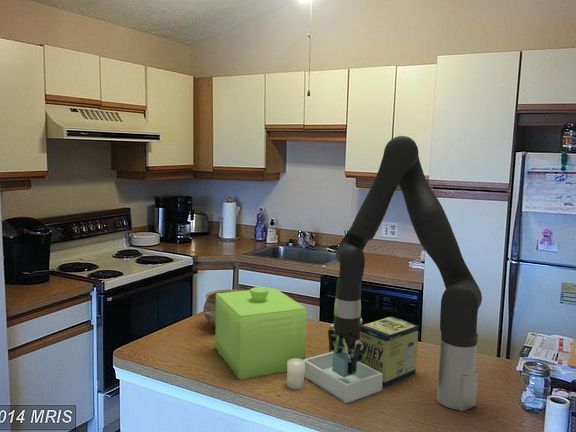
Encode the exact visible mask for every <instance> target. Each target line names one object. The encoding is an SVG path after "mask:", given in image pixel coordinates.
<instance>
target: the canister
mask: <svg viewBox="0 0 576 432" xmlns="http://www.w3.org/2000/svg"><path fill="white" fill-rule="evenodd" d="M307 311H308V310H307V309H306V307H305V306H303V305H301V304H300V303H299V302H297V301H296V300H294V299H293V298H291V297H290V296H288V295H287V294H285V293H284V292H282V291H280V290H279V289H278V288H275V287H268V288H266V287H264V286H263V287H262V286H256V287H252V288H250V289H248V290H242V291H235V292H225V293H216V326H215V335H214V337H215V338H214V339H215V341H214V342H215V345H214V347H215V348H216V349H217V350H218V351H219V352H218V351H217V350H216V349H215V350H216V351H217V352H218V354H219V353H220V354H221V355H220V354H219V355H220V356H221V358H222V357H223V358H224V359H223V358H222V359H223V360H224V362H225V361H226V362H227V363H228V364H227V363H226V362H225V363H226V364H227V366H228V367H229V366H230V367H229V369H231V371H232V370H233V371H232V372H233V374H234V375H235V376H236V377H237V379H238V380H245V379H250V378H251V379H252V378H256V377H257V378H258V377H262V376H264V377H265V376H269V375H274V374H279V373H285V372H287V361H288V360H289V359H293V358H298V359H302V360H304V359H306V339H307V337H306V336H307V335H306V334H307Z"/></svg>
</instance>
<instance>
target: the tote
mask: <svg viewBox="0 0 576 432" xmlns="http://www.w3.org/2000/svg"><path fill="white" fill-rule="evenodd" d="M333 354H334V352H329V351H328V352H327V353H322V354H319V355H315V356H312V357H307V358H305V359H304V361H305V377H304V379H306V380H308V381H310V382H311V383H312V384H314V385H316V386H318V387H319V388H321V389H322V390H324V391H326V392H327V393H329V394H330V395H332V396H333V397H335V398H336V399H338V400H340V401H341V402H343V403H344V404H349V403H351V402H355V401H357V400H359V399H362V398H365V397H368V396H371V395H373V394H376V393H379V392H382V391H383V386H382V381H383V374H382V373H380V372H378V371H376V370H375V369H373V368H371V367H369V366H367V365H365V364H363V363H361V362H357V373H356V374H353V375H350V376H347V377H342V376H340V375H339V374H337V373H335V372H334V371H332V365H333Z"/></svg>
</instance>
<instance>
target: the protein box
mask: <svg viewBox="0 0 576 432" xmlns="http://www.w3.org/2000/svg"><path fill="white" fill-rule="evenodd" d="M418 339H419V325H418V324H415V323H412V322H409V321H406V320H403V319H400V318H397V317H395V316H391V315H390V316H388V317H385V318H382V319H378V320H375V321H372V322H368V323H365V324H363V325H361V326H360V342H361V343H362V342H365V344H366V346H365V350H364V354H363V357H362V361H359V362H361V363H363V364H365V365H367V366H369V367H371V368H373V369H375V370H376V371H378V372H380V373H382V374H383V381H382V388H385V387H387V386H390V385H392V384H394V383H397V382H399V381H401V380H403V379H406V378H408V377H410V376H412V375H416V372H417V359H418V358H417V356H418V342H419V341H418Z"/></svg>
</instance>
